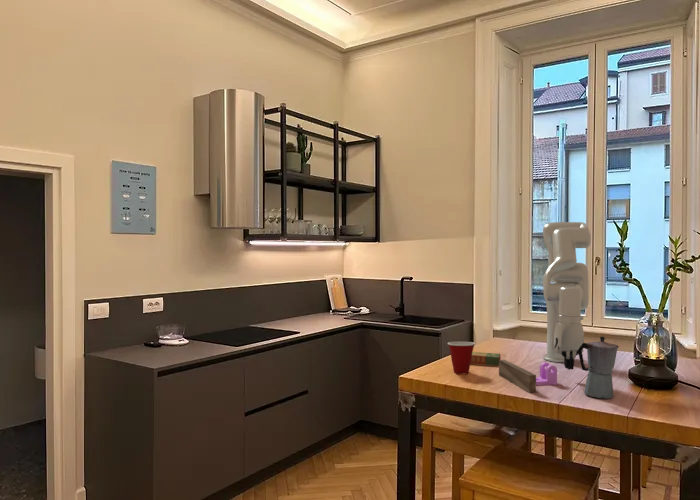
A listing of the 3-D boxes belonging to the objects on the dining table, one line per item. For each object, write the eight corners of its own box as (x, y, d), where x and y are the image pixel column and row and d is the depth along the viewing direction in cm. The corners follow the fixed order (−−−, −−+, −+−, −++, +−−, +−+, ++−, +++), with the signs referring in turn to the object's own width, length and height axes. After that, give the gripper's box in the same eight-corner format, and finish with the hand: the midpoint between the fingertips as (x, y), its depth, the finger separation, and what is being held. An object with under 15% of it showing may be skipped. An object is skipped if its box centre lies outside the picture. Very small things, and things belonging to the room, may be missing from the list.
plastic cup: (468, 368, 219) (468, 339, 219) (479, 375, 209) (479, 344, 208) (443, 369, 217) (443, 339, 217) (452, 376, 207) (453, 345, 207)
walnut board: (505, 374, 209) (505, 359, 208) (535, 392, 185) (536, 375, 185) (498, 375, 208) (499, 359, 208) (529, 392, 184) (529, 375, 184)
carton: (462, 360, 236) (463, 350, 236) (500, 362, 231) (500, 352, 231) (460, 364, 228) (460, 353, 228) (499, 367, 223) (499, 356, 223)
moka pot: (627, 398, 179) (628, 338, 178) (589, 402, 174) (589, 340, 174) (606, 390, 188) (607, 333, 187) (569, 393, 183) (569, 335, 183)
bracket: (548, 380, 201) (549, 362, 201) (557, 384, 196) (557, 365, 196) (516, 382, 199) (516, 363, 199) (523, 386, 194) (523, 366, 193)
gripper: (582, 317, 204) (581, 365, 205) (545, 318, 202) (545, 366, 203) (594, 320, 197) (593, 370, 198) (556, 322, 195) (555, 372, 195)
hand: (569, 368), depth 200 cm, fingers closed
